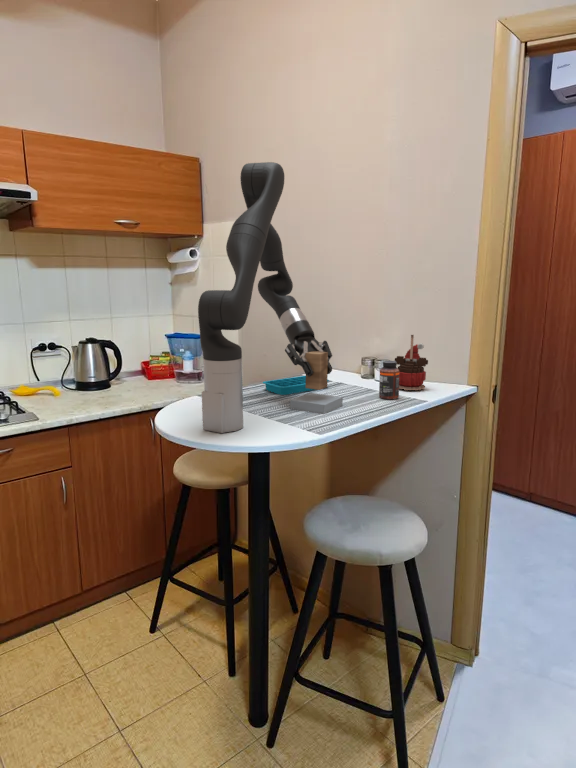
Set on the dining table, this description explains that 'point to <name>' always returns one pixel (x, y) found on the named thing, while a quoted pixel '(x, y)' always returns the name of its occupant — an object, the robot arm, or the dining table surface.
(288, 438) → the dining table surface
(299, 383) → the ice cube tray
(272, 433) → the dining table surface
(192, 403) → the dining table surface
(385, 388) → the supplement bottle
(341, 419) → the dining table surface
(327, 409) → the base block
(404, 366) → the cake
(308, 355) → the walnut post
